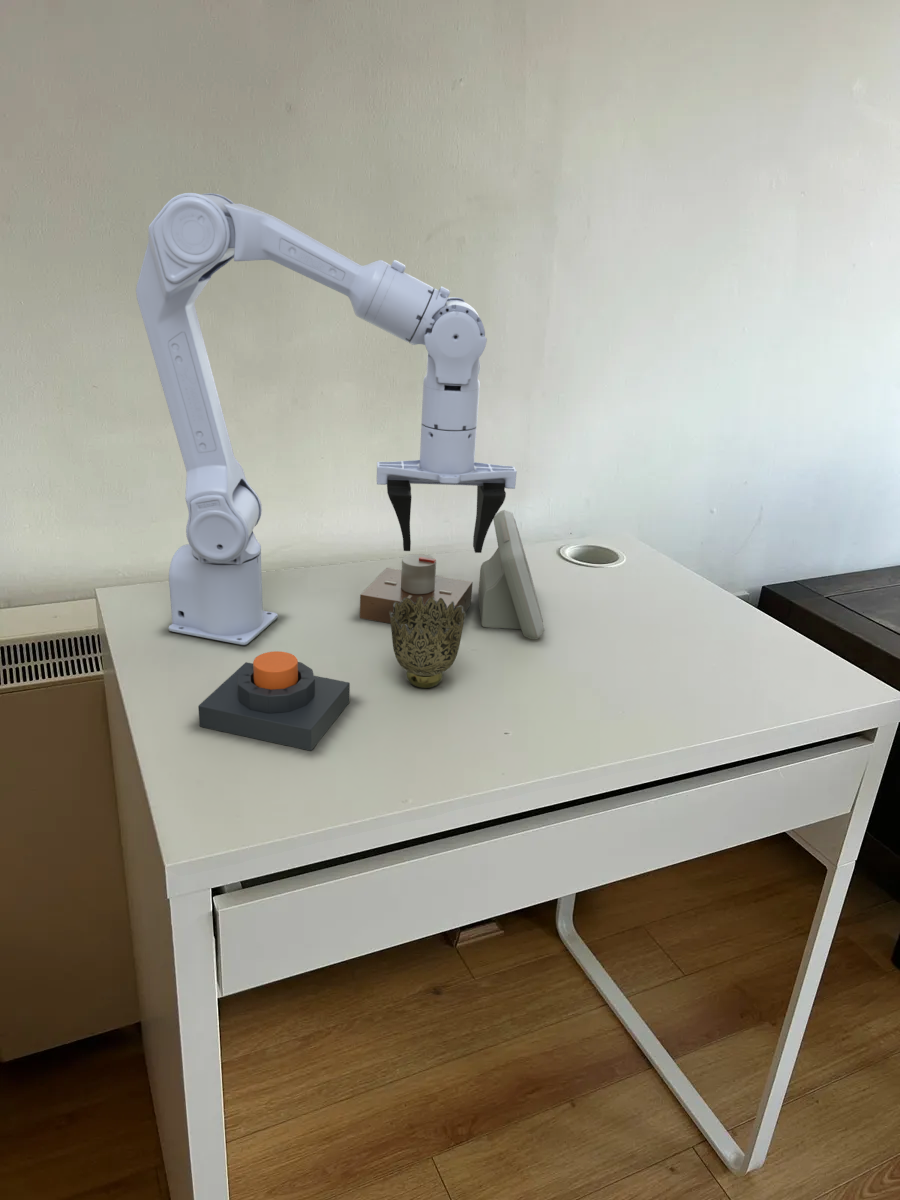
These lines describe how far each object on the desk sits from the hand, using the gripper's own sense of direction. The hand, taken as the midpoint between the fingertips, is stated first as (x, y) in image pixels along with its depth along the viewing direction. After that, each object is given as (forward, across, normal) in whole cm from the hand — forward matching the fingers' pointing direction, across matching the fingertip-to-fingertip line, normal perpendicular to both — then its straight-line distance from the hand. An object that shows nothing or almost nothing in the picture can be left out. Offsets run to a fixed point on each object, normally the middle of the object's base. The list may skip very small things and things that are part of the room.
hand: (442, 548), depth 98 cm
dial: (+7, -2, +6) cm, 10 cm away
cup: (+10, -2, -11) cm, 15 cm away
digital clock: (+10, +10, +6) cm, 15 cm away
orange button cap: (+7, -16, -18) cm, 25 cm away
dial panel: (+10, -2, +6) cm, 12 cm away
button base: (+10, -16, -18) cm, 26 cm away
